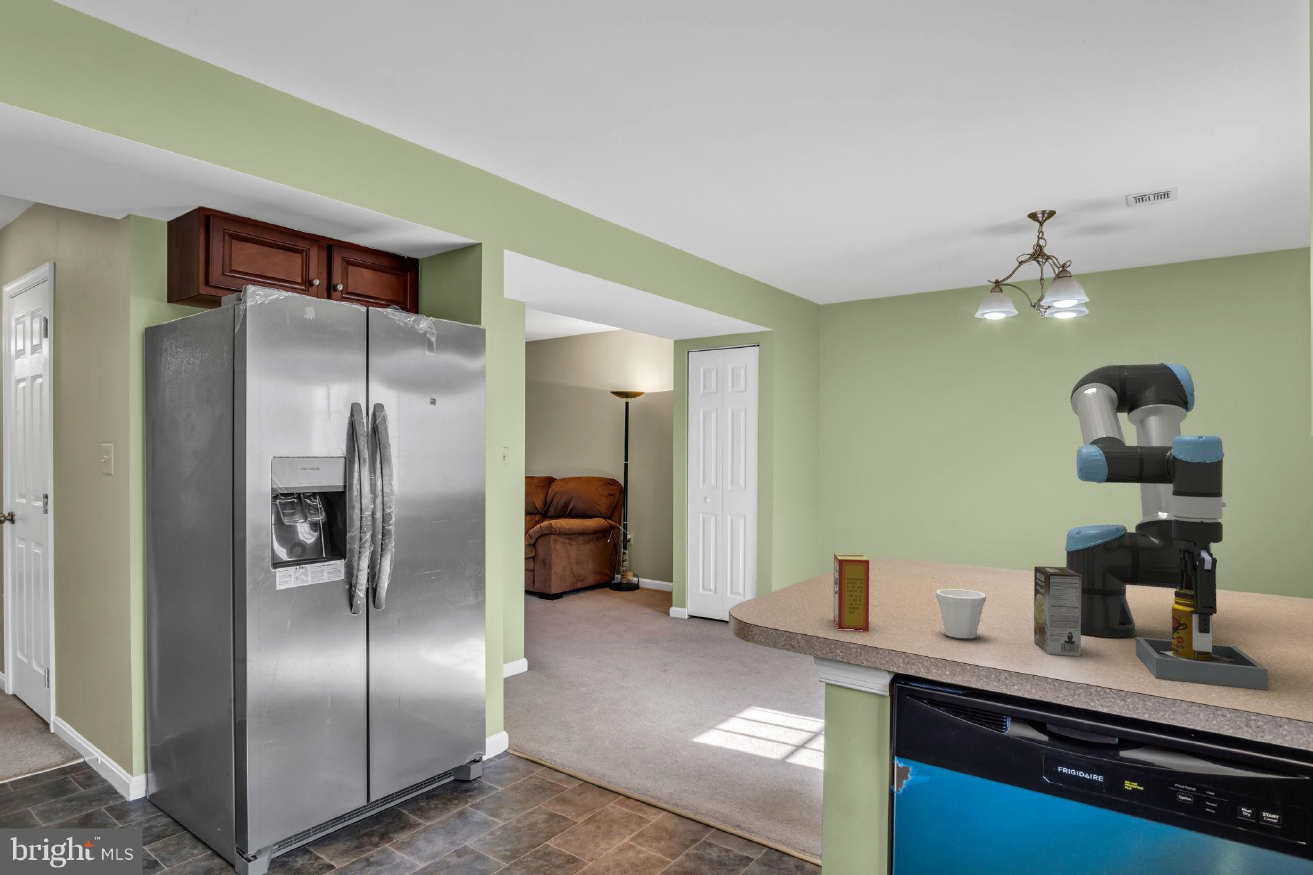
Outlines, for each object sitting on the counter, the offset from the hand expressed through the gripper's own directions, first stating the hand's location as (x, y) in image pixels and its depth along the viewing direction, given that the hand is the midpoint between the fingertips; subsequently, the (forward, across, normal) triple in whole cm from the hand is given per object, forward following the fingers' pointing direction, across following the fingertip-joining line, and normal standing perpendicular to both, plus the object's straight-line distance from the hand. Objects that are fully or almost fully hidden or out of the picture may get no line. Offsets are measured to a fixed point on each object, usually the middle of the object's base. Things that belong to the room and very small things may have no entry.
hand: (1196, 645), depth 136 cm
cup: (+5, +9, +40) cm, 41 cm away
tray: (+5, 0, 0) cm, 5 cm away
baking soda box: (+5, +9, +63) cm, 64 cm away
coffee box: (+5, +6, +22) cm, 23 cm away
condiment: (+2, 0, 0) cm, 2 cm away
